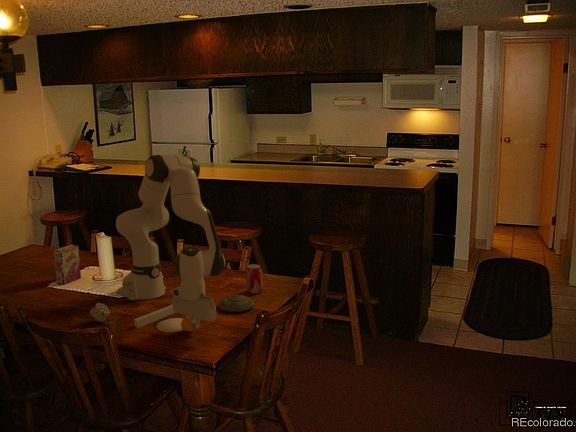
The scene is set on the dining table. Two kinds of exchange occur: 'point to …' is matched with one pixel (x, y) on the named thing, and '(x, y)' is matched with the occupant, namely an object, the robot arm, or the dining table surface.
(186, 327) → the ball
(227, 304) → the flying saucer
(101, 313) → the game die
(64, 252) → the candy bar box
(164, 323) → the disc
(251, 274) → the soda can
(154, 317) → the bar
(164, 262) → the dining table surface
